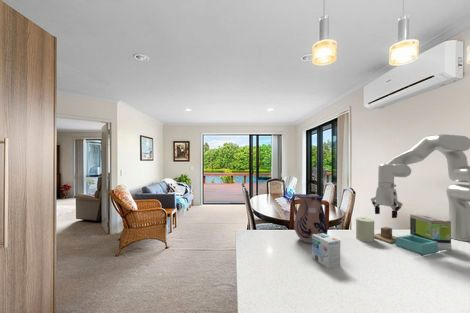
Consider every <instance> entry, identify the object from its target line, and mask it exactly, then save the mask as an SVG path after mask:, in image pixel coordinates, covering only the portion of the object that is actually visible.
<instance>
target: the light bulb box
mask: <svg viewBox="0 0 470 313" xmlns="http://www.w3.org/2000/svg"><path fill="white" fill-rule="evenodd" d="M311 259H313V260H315V261H316V262H318V263H319V264H321V265H323V267H326V268H327V269H330V268H337V267H341V240H340V239H337V238H335V236H330V235H329V234H328V233H327V234H324V233H320V234H312V243H311Z"/></svg>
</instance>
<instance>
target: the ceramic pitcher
mask: <svg viewBox="0 0 470 313" xmlns="http://www.w3.org/2000/svg"><path fill="white" fill-rule="evenodd" d="M296 198H298V199H299V200H300V201H299V202H300V203H299V205H298V208H297V206H296V202H295V199H296ZM290 201H291V202H290V204H291V207H292V209H293V213H294V216H295V217H294V222H293V224H294V225H293V228H294V231H295V233H296V235H297V237H298V239H300V240H301V241H303V242H305V243H308V244H312V234H320V233H324V234H327V235H328V230H329V229H328V228H329V226H328V222H327V218H326V214H325V211H324V207H323V204H322V203H323V197H322V196H321V195H319V194H308V193H303V194H302V193H294V194H293V195H292V197H291V200H290Z"/></svg>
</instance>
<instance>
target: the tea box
mask: <svg viewBox="0 0 470 313" xmlns="http://www.w3.org/2000/svg"><path fill="white" fill-rule="evenodd" d="M409 228H410V229H409V230H410V231H409V235H414V236H417V237H421V238H424V239H428V240H432V241H435V242H438V250H444V251H451V250H452V238H451V221H449V219H445V218H441V217H437V216H433V215H429V214H412V213H411V214H410V217H409Z"/></svg>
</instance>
